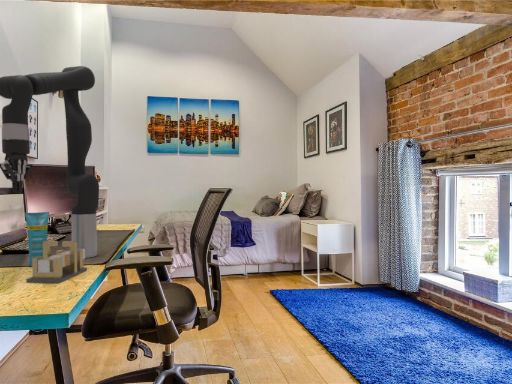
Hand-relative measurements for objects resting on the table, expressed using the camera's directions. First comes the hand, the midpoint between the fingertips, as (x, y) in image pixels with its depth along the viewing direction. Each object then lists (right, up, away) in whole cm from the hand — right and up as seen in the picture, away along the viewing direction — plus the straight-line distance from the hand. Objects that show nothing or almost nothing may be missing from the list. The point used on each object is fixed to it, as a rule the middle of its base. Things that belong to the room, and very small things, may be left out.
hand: (17, 192), depth 121 cm
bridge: (+14, -27, 0) cm, 30 cm away
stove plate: (+14, -27, -1) cm, 30 cm away
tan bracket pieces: (+14, -26, -1) cm, 29 cm away
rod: (+14, -24, +1) cm, 27 cm away
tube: (-2, -26, +14) cm, 30 cm away
